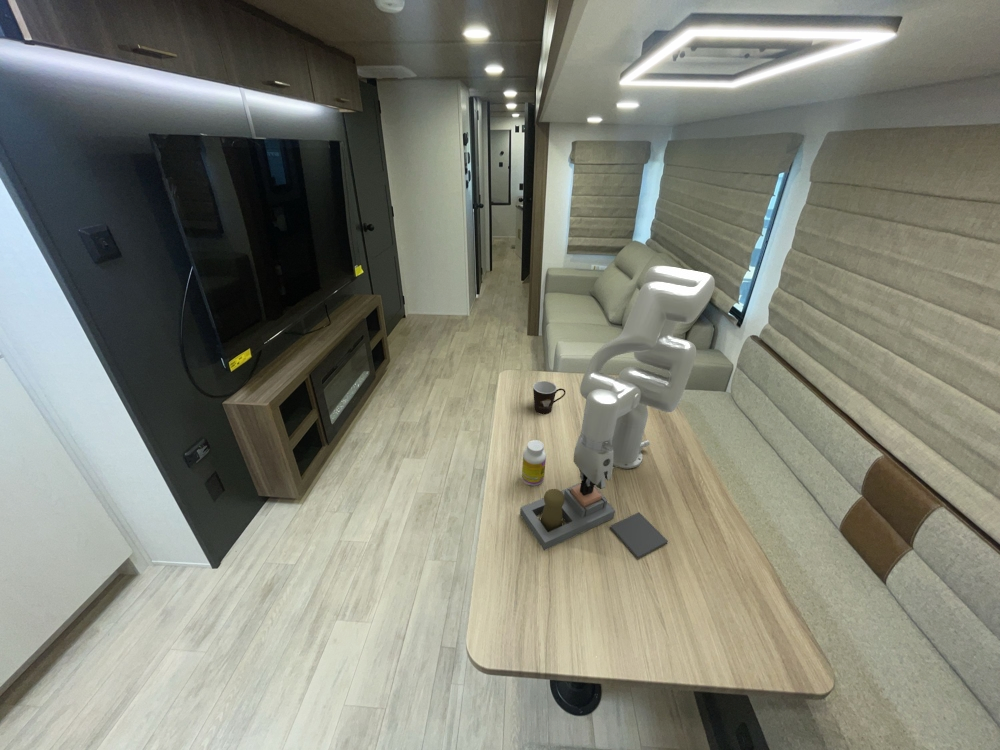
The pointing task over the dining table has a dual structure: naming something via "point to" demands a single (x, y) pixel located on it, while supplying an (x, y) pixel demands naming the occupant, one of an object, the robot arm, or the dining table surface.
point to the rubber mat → (638, 535)
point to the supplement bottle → (533, 463)
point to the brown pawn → (552, 510)
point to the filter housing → (566, 518)
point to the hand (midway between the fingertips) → (586, 491)
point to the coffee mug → (545, 396)
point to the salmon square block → (586, 499)
